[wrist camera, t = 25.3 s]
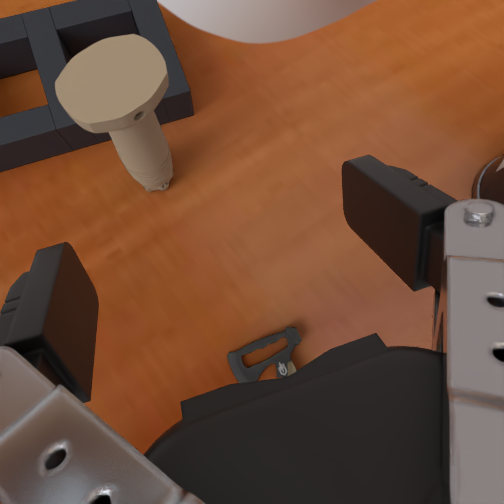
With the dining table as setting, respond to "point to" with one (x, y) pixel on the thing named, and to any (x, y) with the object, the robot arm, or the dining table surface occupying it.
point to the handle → (122, 102)
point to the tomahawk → (280, 359)
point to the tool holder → (57, 57)
